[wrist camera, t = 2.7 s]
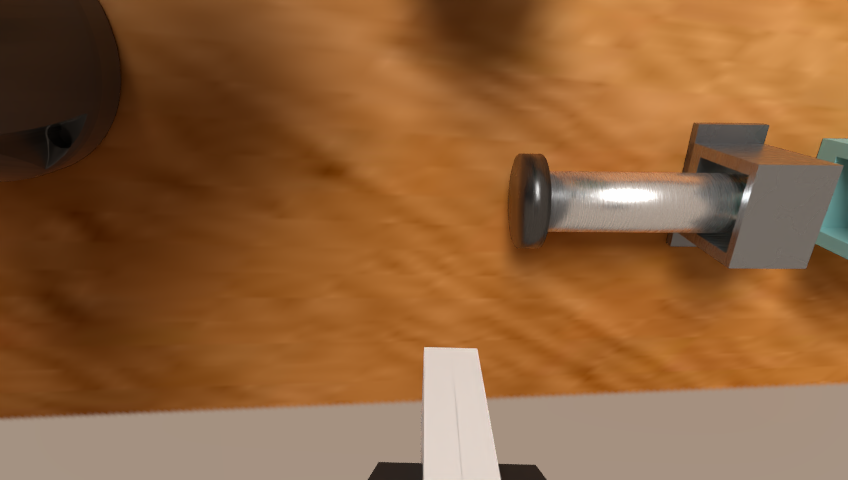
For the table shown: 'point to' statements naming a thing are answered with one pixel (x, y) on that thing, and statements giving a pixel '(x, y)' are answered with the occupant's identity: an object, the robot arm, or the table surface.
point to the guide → (761, 197)
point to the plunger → (617, 201)
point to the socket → (836, 200)
